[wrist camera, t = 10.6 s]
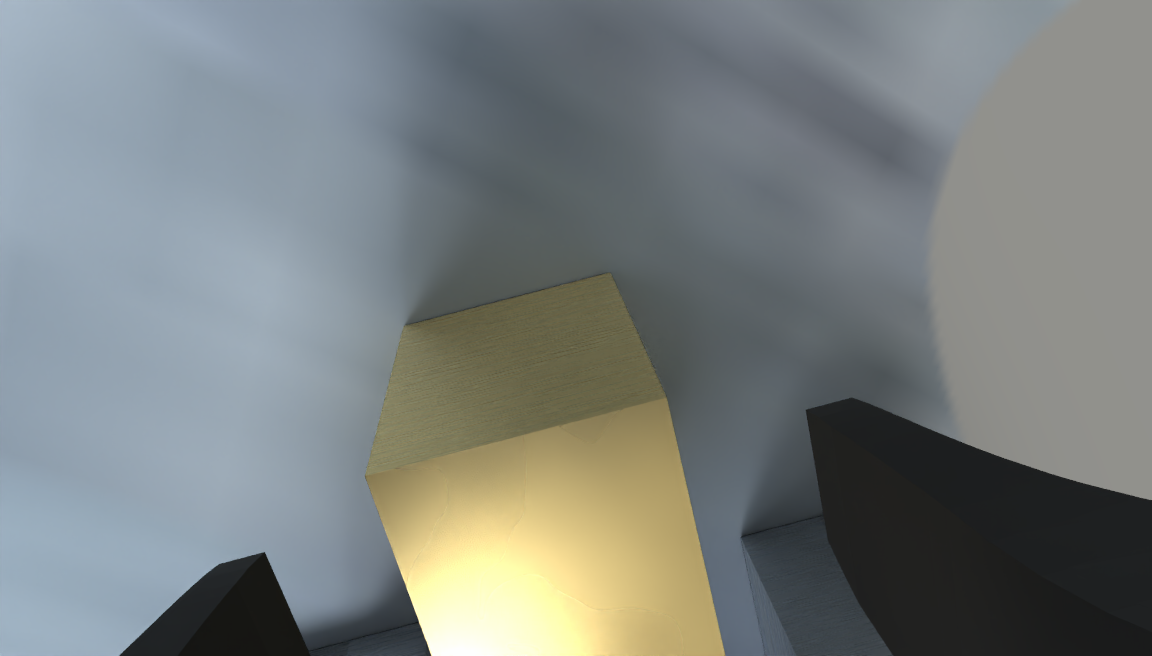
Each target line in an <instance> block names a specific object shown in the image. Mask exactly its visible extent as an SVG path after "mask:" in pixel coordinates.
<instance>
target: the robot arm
mask: <svg viewBox="0 0 1152 656" xmlns="http://www.w3.org/2000/svg"><path fill="white" fill-rule="evenodd" d="M806 414H807V420H808V426H809V432H810V438H811V444H812V450H813V455H814V461H815V467H816V473H817V479H818V485H819V491H820V497H821V503H822V509H823V514H824V520H825V526H826V532H827V538H828V542H829V544H830V546H831V548H832V550H833V552H834V554H835V557H836V559H837V561H838V563H839V565H840V567H841V569H842V571H843V573H844V575H845V577H846V579H847V581H848V583H849V585H850V587H851V589H852V591H853V593H854V595H855V597H856V599H857V601H858V603H859V605H860V606H861V608H862V609H863V611H864V612H865V614H866V615H867V617H868V619H869V620H870V622H871V623H872V625H873V626H874V628H875V629H876V631H877V632H878V634H879V635H880V637H881V638H882V640H883V641H884V643H885V644H886V646H887V647H888V649H889V650H890V652H891V653H892V655H893V656H1152V500H1147V499H1143V498H1139V497H1135V496H1130V495H1126V494H1123V493H1119V492H1115V491H1111V490H1107V489H1103V488H1099V487H1095V486H1091V485H1087V484H1083V483H1080V482H1076V481H1073V480H1069V479H1066V478H1062V477H1059V476H1056V475H1052V474H1049V473H1046V472H1043V471H1040V470H1037V469H1034V468H1031V467H1028V466H1025V465H1022V464H1019V463H1016V462H1013V461H1010V460H1007V459H1004V458H1002V457H999V456H996V455H994V454H991V453H988V452H985V451H983V450H980V449H977V448H975V447H972V446H970V445H967V444H964V443H962V442H959V441H957V440H954V439H952V438H949V437H947V436H944V435H942V434H940V433H937V432H935V431H932V430H930V429H928V428H925V427H923V426H920V425H918V424H916V423H913V422H911V421H909V420H906V419H904V418H902V417H899V416H897V415H895V414H892V413H890V412H887V411H885V410H883V409H880V408H878V407H875V406H873V405H871V404H868V403H865V402H863V401H860V400H857V399H854V398H849V399H845V400H841V401H837V402H834V403H830V404H826V405H822V406H818V407H815V408H811V409H807V410H806ZM119 656H310V654H309V651H308V649H307V647H306V645H305V642H304V640H303V638H302V635H301V633H300V631H299V629H298V626H297V624H296V622H295V620H294V617H293V615H292V613H291V611H290V608H289V606H288V604H287V601H286V599H285V597H284V595H283V592H282V590H281V588H280V586H279V583H278V581H277V579H276V577H275V574H274V572H273V570H272V567H271V565H270V563H269V561H268V558H267V556H266V554H265V552H264V553H260V554H256V555H252V556H248V557H245V558H241V559H237V560H233V561H229V562H226V563H222V564H219V565H218V566H216V567H215V568H214V569H212V570H211V571H210V572H208V573H207V574H206V575H205V576H203V577H202V578H201V579H200V580H199V581H198V582H197V583H195V584H194V585H193V586H192V587H191V588H190V589H189V590H188V591H187V592H186V593H184V594H183V595H182V596H181V597H180V598H179V599H178V600H177V601H176V602H175V603H174V604H173V605H172V606H171V607H170V608H169V609H167V610H166V611H165V612H164V613H163V614H162V615H161V616H160V617H159V618H158V619H157V620H156V621H155V622H154V623H153V624H152V625H151V626H150V627H149V628H148V629H147V630H146V631H145V632H144V633H142V634H141V635H140V636H139V637H138V638H137V639H136V640H135V641H134V642H133V643H132V644H131V645H130V646H129V647H128V648H127V649H126V650H125V651H124V652H123V653H122V654H121V655H119Z"/></svg>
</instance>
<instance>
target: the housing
mask: <svg viewBox="0 0 1152 656" xmlns="http://www.w3.org/2000/svg"><path fill="white" fill-rule="evenodd" d="M741 542H742V547H743V551H744V556H745V561H746V565H747V570H748V575H749V580H750V584H751V589H752V594H753V599H754V603H755V608H756V613H757V617H758V622H759V627H760V632H761V636H762V641H763V646H764V651H765V655H766V656H893V655H892V653H891V652H890V650H889V649H888V647H887V646H886V644H885V643H884V641H883V640H882V638H881V637H880V635H879V634H878V632H877V631H876V629H875V628H874V626H873V625H872V623H871V622H870V620H869V619H868V617H867V615H866V614H865V612H864V611H863V609H862V608H861V606H860V605H859V603H858V601H857V599H856V597H855V595H854V593H853V591H852V589H851V587H850V585H849V583H848V581H847V579H846V577H845V575H844V573H843V571H842V569H841V567H840V565H839V563H838V561H837V559H836V557H835V554H834V552H833V550H832V548H831V546H830V544H829V542H828V538H827V532H826V526H825V520H824V515H823V516H819V517H815V518H812V519H808V520H804V521H800V522H797V523H793V524H789V525H785V526H781V527H778V528H774V529H770V530H766V531H763V532H759V533H755V534H751V535H747V536H744V537H741ZM309 654H310V656H432V655H431V652H430V649H429V647H428V644H427V641H426V639H425V636H424V633H423V631H422V628H421V625H420V623H415V624H412V625H408V626H404V627H400V628H396V629H393V630H389V631H385V632H381V633H378V634H374V635H370V636H366V637H362V638H359V639H355V640H351V641H347V642H344V643H340V644H336V645H332V646H328V647H325V648H321V649H317V650H313V651H310V652H309Z"/></svg>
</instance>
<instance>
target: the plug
mask: <svg viewBox="0 0 1152 656" xmlns="http://www.w3.org/2000/svg"><path fill="white" fill-rule="evenodd" d="M365 478H366V481H367V483H368V486H369V489H370V491H371V494H372V497H373V499H374V502H375V505H376V507H377V510H378V513H379V515H380V518H381V521H382V523H383V526H384V529H385V531H386V534H387V537H388V539H389V542H390V545H391V547H392V550H393V553H394V556H395V558H396V561H397V564H398V566H399V569H400V572H401V574H402V577H403V580H404V582H405V585H406V588H407V590H408V593H409V596H410V598H411V601H412V604H413V606H414V609H415V612H416V614H417V617H418V620H419V623H420V625H421V628H422V631H423V633H424V636H425V639H426V641H427V644H428V647H429V649H430V652H431V655H432V656H725V652H724V648H723V643H722V639H721V634H720V630H719V626H718V621H717V617H716V612H715V608H714V604H713V599H712V595H711V590H710V586H709V582H708V577H707V573H706V568H705V564H704V559H703V555H702V551H701V546H700V542H699V537H698V533H697V529H696V524H695V520H694V515H693V511H692V507H691V502H690V498H689V493H688V489H687V485H686V480H685V476H684V471H683V467H682V463H681V458H680V454H679V449H678V445H677V441H676V436H675V432H674V427H673V423H672V419H671V414H670V410H669V405H668V401H667V397H666V395H665V393H664V390H663V388H662V386H661V384H660V381H659V379H658V377H657V375H656V373H655V370H654V368H653V366H652V364H651V361H650V359H649V357H648V355H647V353H646V350H645V348H644V346H643V344H642V342H641V339H640V337H639V335H638V333H637V330H636V328H635V326H634V324H633V322H632V319H631V317H630V315H629V313H628V310H627V308H626V306H625V304H624V302H623V299H622V297H621V295H620V293H619V290H618V288H617V286H616V284H615V282H614V279H613V277H612V275H611V273H610V272H609V273H606V274H602V275H598V276H594V277H590V278H586V279H582V280H579V281H575V282H571V283H567V284H563V285H559V286H556V287H552V288H548V289H544V290H540V291H536V292H532V293H529V294H525V295H521V296H517V297H513V298H509V299H506V300H502V301H498V302H494V303H490V304H486V305H483V306H479V307H475V308H471V309H467V310H463V311H459V312H456V313H452V314H448V315H444V316H440V317H436V318H433V319H429V320H425V321H421V322H417V323H413V324H410V325H406V326H404V327H403V331H402V335H401V338H400V342H399V346H398V350H397V354H396V358H395V362H394V366H393V369H392V373H391V377H390V381H389V385H388V389H387V393H386V397H385V400H384V404H383V408H382V412H381V416H380V420H379V424H378V427H377V431H376V435H375V439H374V443H373V447H372V451H371V455H370V458H369V462H368V466H367V470H366V474H365Z"/></svg>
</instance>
